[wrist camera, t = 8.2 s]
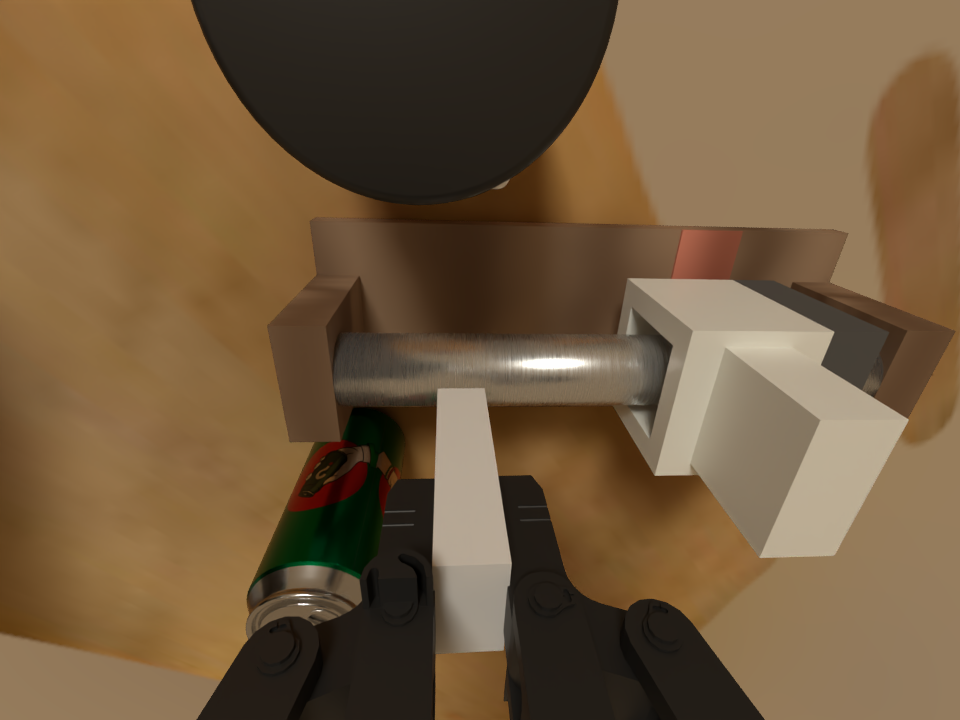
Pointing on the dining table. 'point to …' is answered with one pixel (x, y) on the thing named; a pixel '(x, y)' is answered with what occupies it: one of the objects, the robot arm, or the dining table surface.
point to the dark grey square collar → (851, 338)
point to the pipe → (507, 368)
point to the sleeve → (756, 413)
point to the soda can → (329, 525)
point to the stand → (544, 292)
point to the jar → (410, 85)
